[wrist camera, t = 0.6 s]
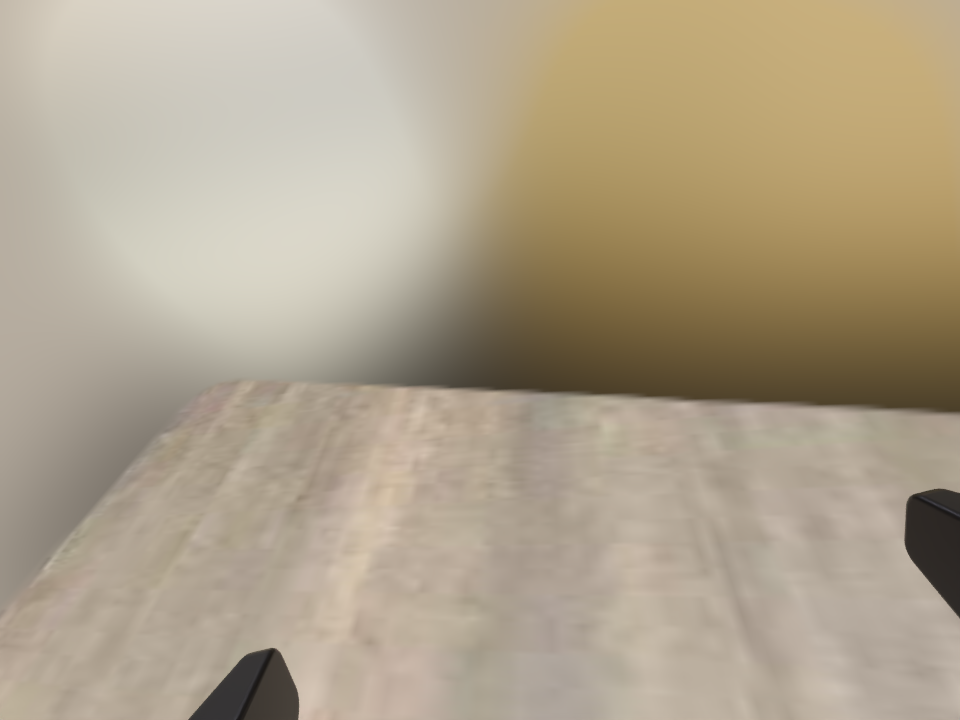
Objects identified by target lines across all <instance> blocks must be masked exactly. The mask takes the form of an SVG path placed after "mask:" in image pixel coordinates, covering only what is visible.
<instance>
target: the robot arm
mask: <svg viewBox="0 0 960 720" xmlns="http://www.w3.org/2000/svg"><path fill="white" fill-rule="evenodd" d="M905 547H906V550H907V552H908V555H909V556H910V558H911V560H912V561H913V562H914V564H915V565H916V566H917V567H918V568H919V570H920V571H921V572H922V573H923V575H924V576H925V577H926V578H927V579H928V581H929V582H930V583H931V584H932V585H933V587H934V588H935V589H936V590H937V591H938V593H939V594H940V595H941V596H942V598H943V599H944V600H945V601H946V602H947V604H948V605H949V606H950V607H951V608H952V610H953V611H954V612H955V613H956V614H957V616H958V617H959V618H960V493H957V492H953V491H950V490H946V489H933V490H929V491H925V492H921V493H917V494H913V495H912V496H910V497H909V499H908V501H907V504H906V520H905ZM298 715H299V697H298V692H297V688H296V686H295V684H294V681H293V679H292V677H291V675H290V672H289V670H288V668H287V666H286V663H285V661H284V659H283V657H282V655H281V653H280V652H279V651H278V650H277V649H275V648H269V649H265V650H261V651H256V652H252V653H249V654H247V655H246V656H244V657H243V658H242V659H241V660H240V661H239V662H238V664H237V665H236V666H235V667H234V668H233V669H232V670H231V672H230V673H229V674H228V675H227V676H226V677H225V678H224V680H223V681H222V682H221V683H220V684H219V685H218V686H217V688H216V689H215V690H214V691H213V692H212V693H211V694H210V695H209V697H208V698H207V699H206V700H205V701H204V702H203V703H202V705H201V706H200V707H199V708H198V709H197V710H196V711H195V713H194V714H193V715H192V716H191V717H190V718H189V719H188V720H298Z"/></svg>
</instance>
